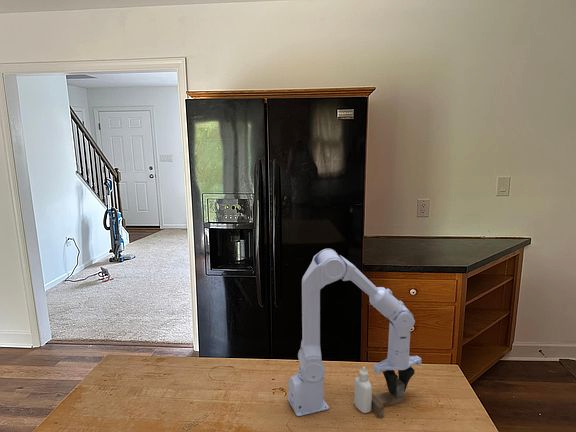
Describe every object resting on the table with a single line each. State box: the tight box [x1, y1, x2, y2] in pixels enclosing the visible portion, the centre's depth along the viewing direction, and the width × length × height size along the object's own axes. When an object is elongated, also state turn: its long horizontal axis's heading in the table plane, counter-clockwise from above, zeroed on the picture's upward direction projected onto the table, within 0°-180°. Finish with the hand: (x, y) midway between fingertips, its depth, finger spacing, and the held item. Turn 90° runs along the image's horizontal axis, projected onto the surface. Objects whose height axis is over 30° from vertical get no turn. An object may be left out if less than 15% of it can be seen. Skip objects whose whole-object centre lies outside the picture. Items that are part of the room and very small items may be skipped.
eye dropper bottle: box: [353, 366, 373, 414], centre depth 106 cm, size 4×6×12 cm
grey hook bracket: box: [371, 377, 406, 418], centre depth 109 cm, size 11×11×5 cm
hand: (396, 391), depth 110 cm, fingers open, 3 cm apart
